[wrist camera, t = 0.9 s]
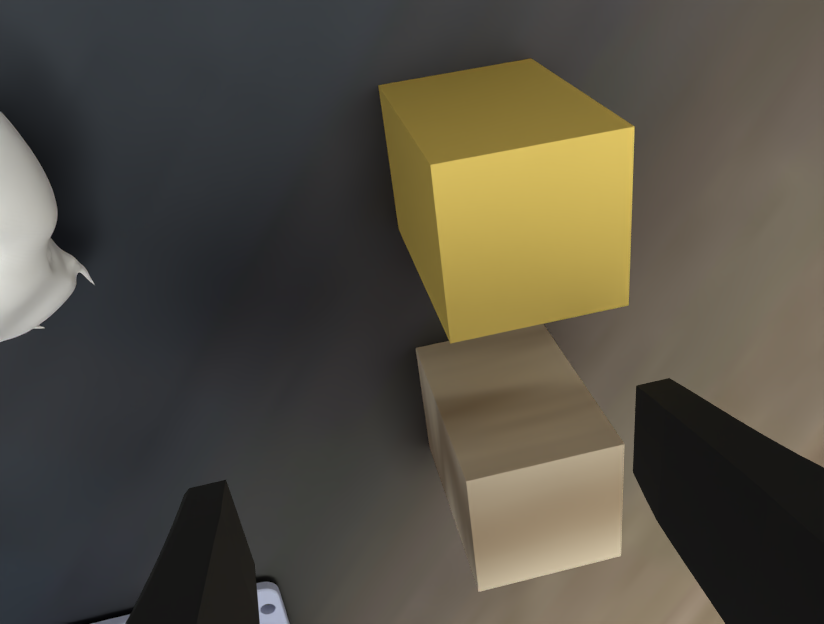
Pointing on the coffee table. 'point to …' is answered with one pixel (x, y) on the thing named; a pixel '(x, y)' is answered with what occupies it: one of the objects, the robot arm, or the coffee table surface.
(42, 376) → the coffee table surface
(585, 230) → the mustard bar
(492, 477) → the birch bar
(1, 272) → the elephant figurine
